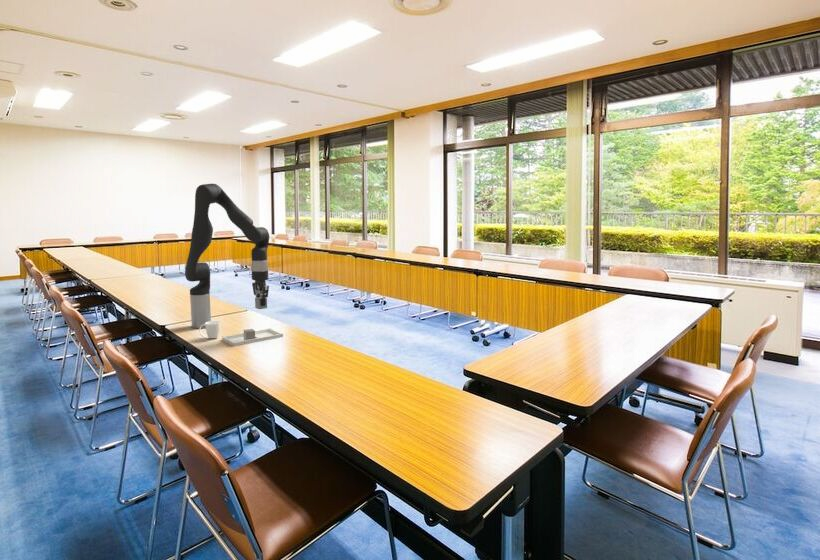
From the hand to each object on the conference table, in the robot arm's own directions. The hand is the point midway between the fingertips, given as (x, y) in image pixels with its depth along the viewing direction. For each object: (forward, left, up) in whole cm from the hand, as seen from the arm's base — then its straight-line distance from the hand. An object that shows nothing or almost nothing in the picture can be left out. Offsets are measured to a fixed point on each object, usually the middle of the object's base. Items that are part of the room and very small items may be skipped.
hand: (261, 305), depth 222 cm
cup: (-11, -21, -16) cm, 28 cm away
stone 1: (+5, -9, -15) cm, 18 cm away
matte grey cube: (0, 0, -1) cm, 1 cm away
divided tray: (+2, -6, -16) cm, 17 cm away
